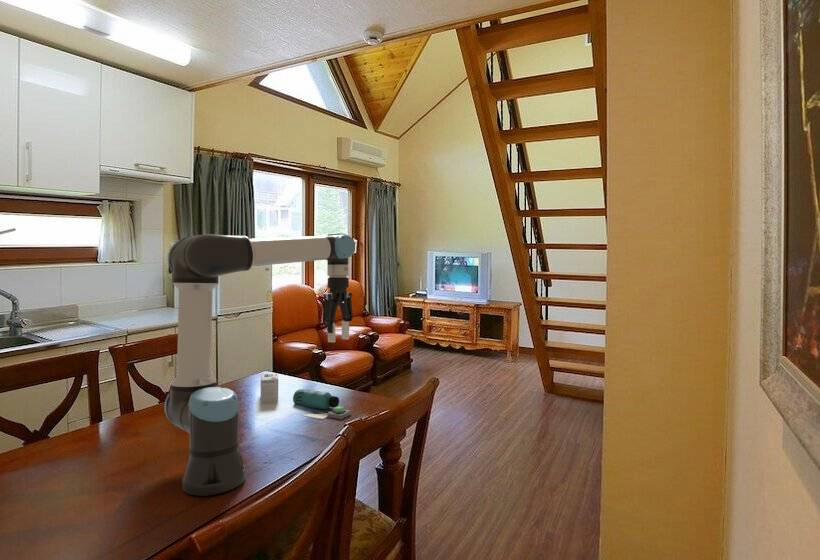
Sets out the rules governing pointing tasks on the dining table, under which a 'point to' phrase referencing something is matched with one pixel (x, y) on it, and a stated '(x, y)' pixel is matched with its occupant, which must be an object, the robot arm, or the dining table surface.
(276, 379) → the light bulb box
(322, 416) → the cream rectangular board
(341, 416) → the button box
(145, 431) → the dining table surface
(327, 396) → the beverage bottle
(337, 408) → the button
